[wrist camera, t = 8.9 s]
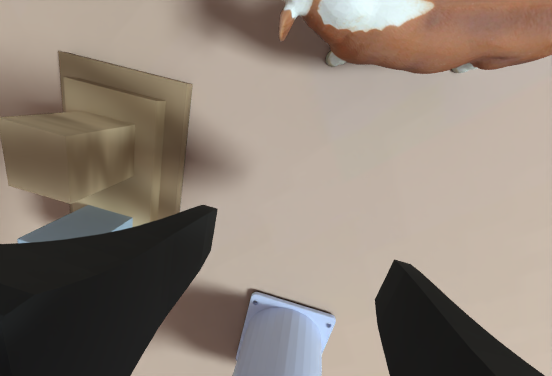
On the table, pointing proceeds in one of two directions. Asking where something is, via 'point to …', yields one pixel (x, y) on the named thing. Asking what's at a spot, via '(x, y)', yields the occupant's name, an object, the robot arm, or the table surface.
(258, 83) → the table surface
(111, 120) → the brass block
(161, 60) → the table surface
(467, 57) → the bull figurine
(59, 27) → the table surface
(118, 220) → the slate block
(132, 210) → the plinth
